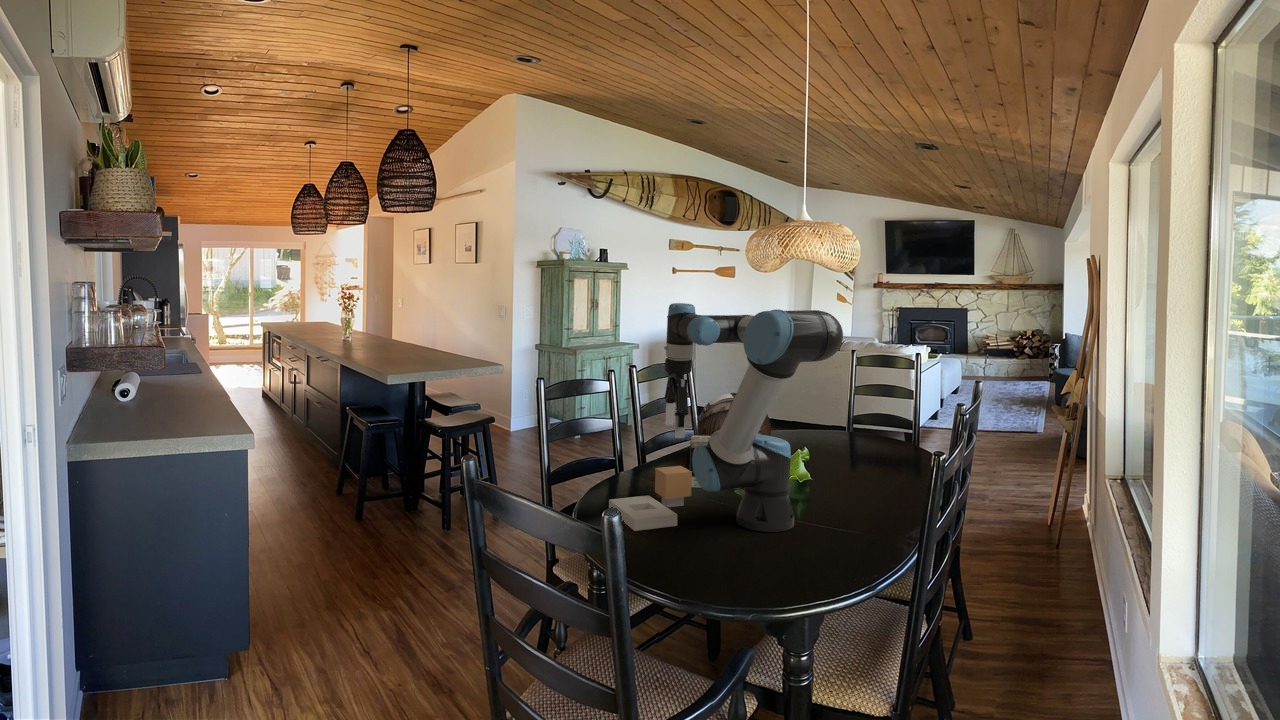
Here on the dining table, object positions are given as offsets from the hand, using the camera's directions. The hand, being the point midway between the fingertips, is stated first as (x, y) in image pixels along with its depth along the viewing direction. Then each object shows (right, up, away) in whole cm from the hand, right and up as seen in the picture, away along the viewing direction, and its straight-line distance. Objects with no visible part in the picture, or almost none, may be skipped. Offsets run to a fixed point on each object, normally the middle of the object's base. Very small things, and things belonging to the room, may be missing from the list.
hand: (674, 431), depth 220 cm
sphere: (+22, -16, +43) cm, 51 cm away
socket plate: (-9, -22, -15) cm, 28 cm away
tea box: (+13, -19, +19) cm, 29 cm away
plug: (-1, -21, -2) cm, 21 cm away
